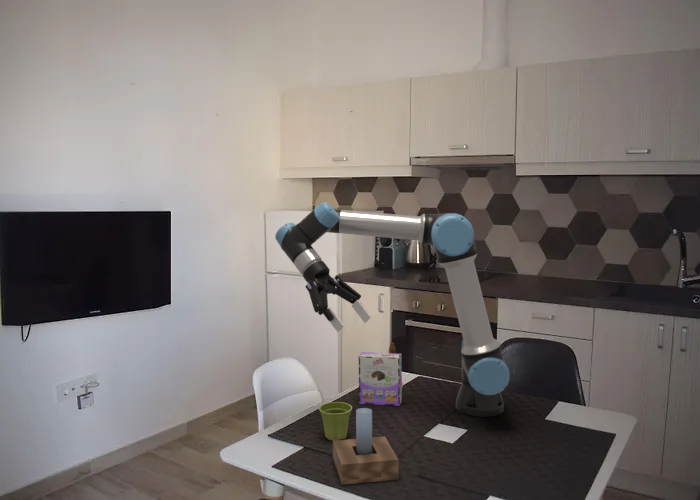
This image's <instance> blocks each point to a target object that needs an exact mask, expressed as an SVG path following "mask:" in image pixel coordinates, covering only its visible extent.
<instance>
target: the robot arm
mask: <svg viewBox="0 0 700 500" xmlns="http://www.w3.org/2000/svg"><path fill="white" fill-rule="evenodd" d="M326 233H333V234H344V235H356V236H365V237H366V236H368V237H375V238H376V237H378V238H388V239H389V238H391V239H401V240H409V241H418V242H419V243H420V244H421V245H429V246H432V247H433V248H434V252H435V255H436V260H437V263H438V265H440V266H441V267H443V268H444V269H445V273H446V274H445V275H446V277H447V281H448V284H449V289H450V293H451V296H452V301H453V304H454V308H455V312H456V316H457V320H458V324H459V327H460V328H459V329H460V331H461V335H462V340H461V347H460V349H461V384H460V387H459V390H458V392H457V397H456V399H455V409H456V410H457V411H458V412H460V413H462V414H465V415H469V416H472V417H479V418H480V417H481V418H482V417H483V418H484V417H485V418H487V417H488V418H490V417H495V416H499V415H501V414H503V413H504V408H505V407H504V406H505V404H504V400H503V396H502V394H501V392H503V391H504V390H505V388H507V386H508V384H509V382H510V378H511V377H510V369H509V367H508V365H507V364H506V361H505V358H504V353H503V350H502V347H501V346H502V345H501V342H500V341H499V340H498V339H496V338H494V335H493V332H492V328H491V324H490V320H489V316H488V313H487V312H488V311H487V308H486V304H485V301H484V297H483V292H482V288H481V283H480V281H479V277H478V271H477V269H476V264H475V259H476V257H477V255H478V251H477V247H476V243H475V232H474V227H473V226H472V223H471V222H470V221H469V219H467V217H465V216H463V215H462V214H459V213H456V212H445V213H423V214H421V215H420V216H418V215H408V214H407V215H406V214H397V213H396V214H394V213H385V212H384V213H383V212H371V211H361V210H360V211H359V210H350V209H349V210H348V209H347V210H346V209H344V210H343V209H336V208H335V209H334V207H333V206H332V205H331V204H329V202H327V201H322V202H321V203H319V205H317V206H315V207H314V209H313V210H311V212H309V213H308V214H307V215H306V216H305V217H304V218H303V219H302V220H301V221H300V222H298V223H297V224H295V223H294V222H287V223H285V224H284V225H282V226H281V227H280V228H279V229H278V230H277V231H276V233H275V234H274V235H275V238H274V239H275V240H276V242H277V244H278V245H279V247H280V249H281V250H282V251H283V252H284V253H285V255H286V256H287V257H288V258H289V260H290V261H291V262H292V264H293V265H294V266H295V268H296V269H297V271H298V272H299V273H300V275H302V278H303V279H304V280H305V282H306V283H307V284H306V285H305V289H306V290H307V292H308V295H309V297H310V300H311V304H312V308H313V311H314V313H318V315H319V316H321V315H324V316H325V319H326V320H327V321H328V322H329V323H330V324H331V326H332V327H333V328H334V330H335V331H336V332H337V333H338V332H340V331H341V330H342V329H343V328H344V327H345V324H344V323H343V321H342V320H341V319H340V317H339V316H338V315H337V313H336V312H335V311H334V310H333V308H332V306H331V307H330V306H329V304H328V303H329V302H328V294H329V295H330V294H332V295H337V296H338V297H340V298H341V299H343V300H345V301H346V302H348V303H349V304H351V307H352V308H353V310H354V311H355V312H356V314H357V315H358V316H359V318H360V319H361V320H362V321H363V323H367V322H368V321H369V320H370V319H371V317H372V315H371V314H370V313H369V312H368V310H367V309H366V308H365V306H364V305H363V303H362V302H361V301H360V299H361V297H362V295H361V294H360V293H359V292H357V290H355V289H354V288H352V286H350V285H349V284H347V283H346V281H344V280H342V279H341V277H340V276H339V275H337V274H336V275H335V276H334V277H332V276H331V275H330V268H329V267H328V265H327V264H326V263H325V261H323V259H322V257H321V256H320V255H319V254H318V252H317V251H316V249H314V247H313V246H312V245H313V244H314V243H316V242H317V241H318V240H319V239H321V237H323V236H324V235H325V234H326Z"/></svg>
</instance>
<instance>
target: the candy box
mask: <svg viewBox="0 0 700 500" xmlns="http://www.w3.org/2000/svg"><path fill="white" fill-rule="evenodd" d="M357 359H358V395H359V396H358V404H360V405H373V406H390V407H391V406H393V407H400V406H401V404H402V401H403V400H402V399H403V393H402V390H403V387H402V384H403V383H402V382H403V381H402V378H403V375H402V372H403V371H402V370H403V369H402V368H403V367H402V353H396V354H395V353H389V352H370V351H362V352H361V353H360V354H359V355H358V358H357Z"/></svg>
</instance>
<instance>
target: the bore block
mask: <svg viewBox="0 0 700 500" xmlns="http://www.w3.org/2000/svg"><path fill="white" fill-rule="evenodd" d="M332 460H334V461H333V462H334V463H333V464H334V466H335V468H336V472H337V474H338V475H337V476H338V477H339V480H340V485H343V486H344V485H353V484H361V483H362V484H364V483H375V482H383V481H385V482H386V481H394V480H399V477H400V475H399V472H400V471H399V467H400V466H399V462H400V461H399V458H398V456H397V453H396V452H395V451H394V449H393V447H392V446H391V444H390V443H389V441H388V439H387V438H386V436H377V437H375V436H374V437H373V436H372V454H365V455H356V438H351V439H350V438H349V439H340V440H336V441H332Z"/></svg>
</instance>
